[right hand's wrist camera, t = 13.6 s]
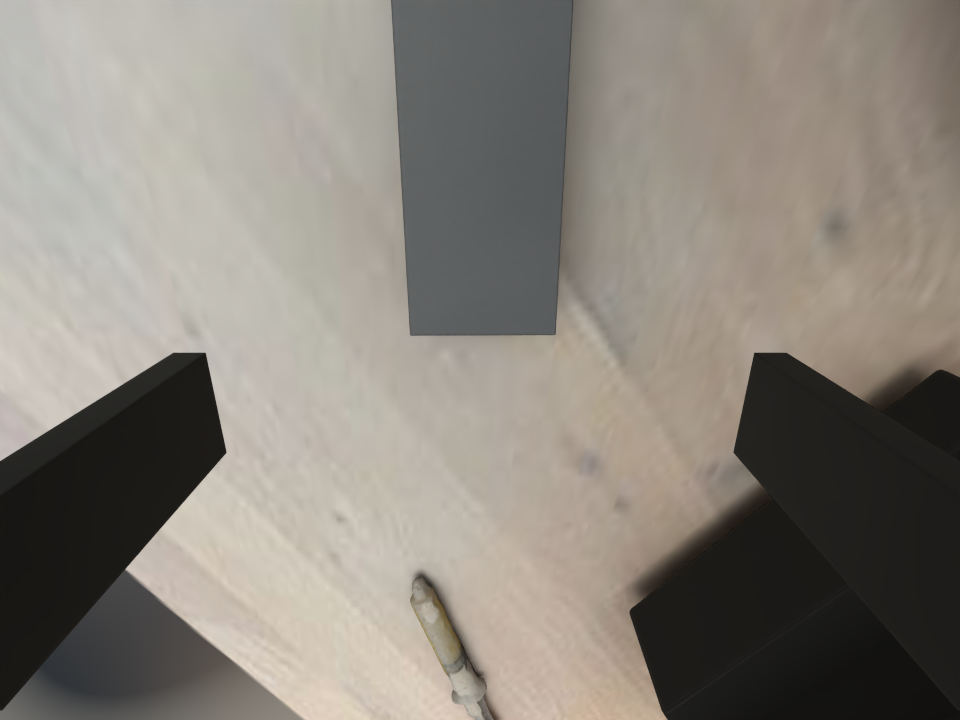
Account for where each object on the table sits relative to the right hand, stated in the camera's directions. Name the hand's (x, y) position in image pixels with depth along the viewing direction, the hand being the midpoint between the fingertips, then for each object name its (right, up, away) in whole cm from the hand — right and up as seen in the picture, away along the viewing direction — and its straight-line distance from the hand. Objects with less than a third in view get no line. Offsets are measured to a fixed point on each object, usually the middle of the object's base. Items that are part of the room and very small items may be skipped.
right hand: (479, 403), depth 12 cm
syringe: (-2, -30, +39) cm, 49 cm away
